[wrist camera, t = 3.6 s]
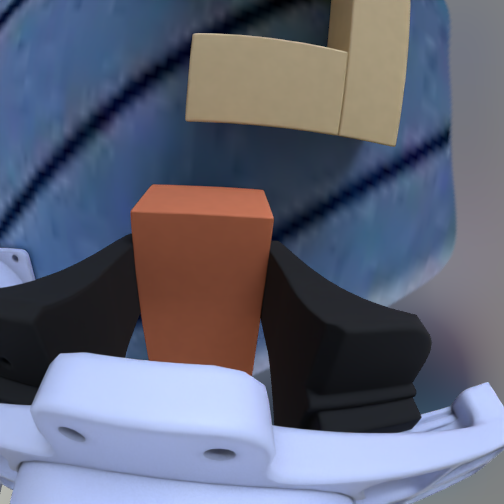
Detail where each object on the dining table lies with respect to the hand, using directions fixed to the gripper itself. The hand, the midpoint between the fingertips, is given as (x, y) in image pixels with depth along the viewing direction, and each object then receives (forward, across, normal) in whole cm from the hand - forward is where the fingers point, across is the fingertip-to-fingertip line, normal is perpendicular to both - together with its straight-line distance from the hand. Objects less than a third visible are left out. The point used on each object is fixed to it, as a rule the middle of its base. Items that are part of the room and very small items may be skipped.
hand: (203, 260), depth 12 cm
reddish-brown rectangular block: (+1, 0, +2) cm, 3 cm away
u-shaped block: (+4, -3, -11) cm, 12 cm away
